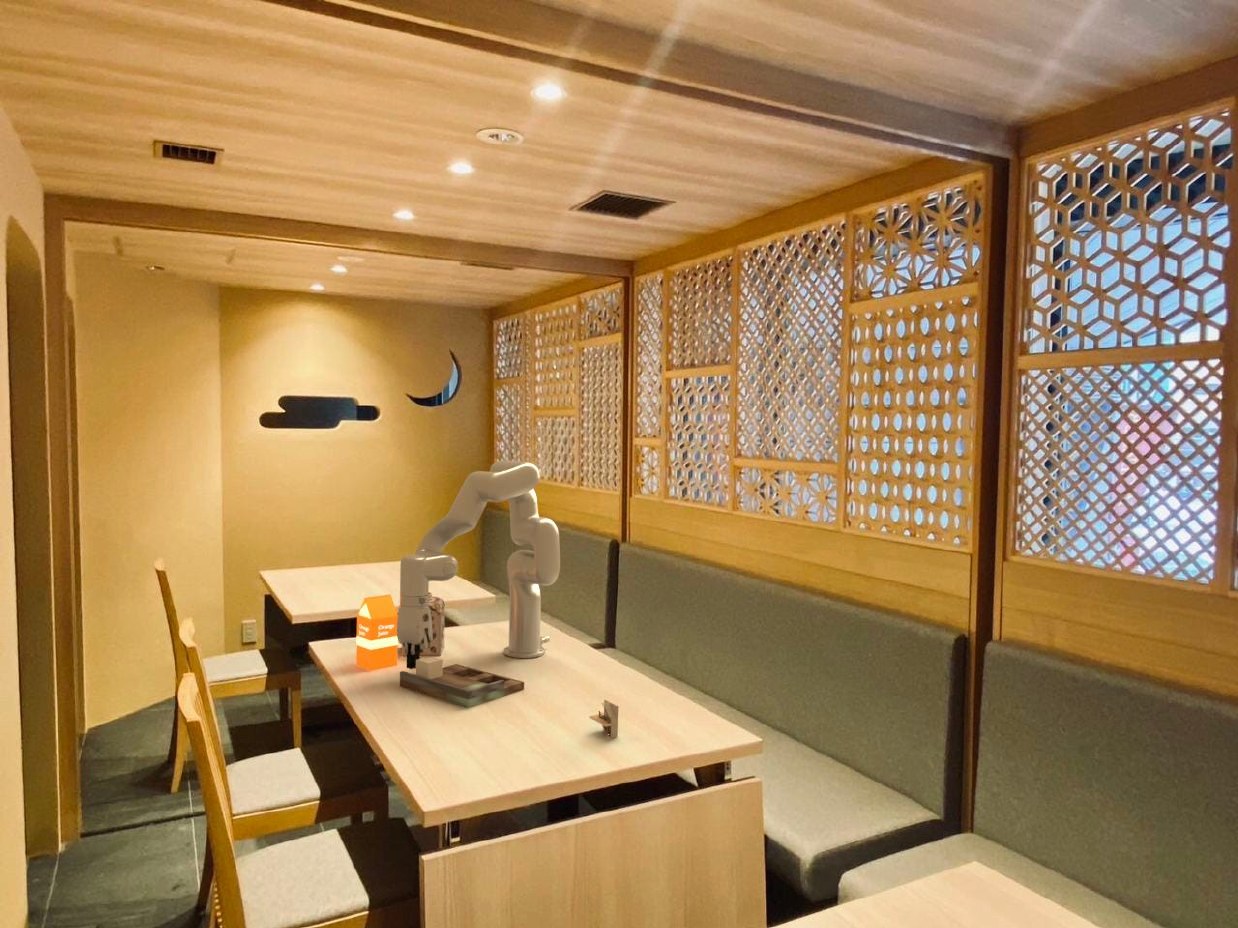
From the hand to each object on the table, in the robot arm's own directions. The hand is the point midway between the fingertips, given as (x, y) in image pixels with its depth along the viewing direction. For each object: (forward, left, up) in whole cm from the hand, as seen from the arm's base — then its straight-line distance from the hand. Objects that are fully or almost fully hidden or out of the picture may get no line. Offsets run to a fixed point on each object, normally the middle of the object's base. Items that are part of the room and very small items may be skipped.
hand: (413, 667), depth 240 cm
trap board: (-3, +16, -3) cm, 17 cm away
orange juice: (-2, -18, -3) cm, 18 cm away
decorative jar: (-21, -20, -3) cm, 29 cm away
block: (0, +6, -1) cm, 7 cm away
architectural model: (-1, +66, -4) cm, 66 cm away
